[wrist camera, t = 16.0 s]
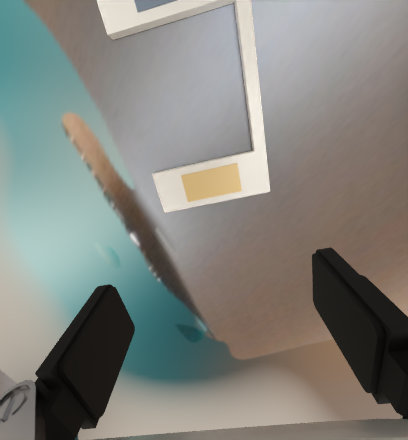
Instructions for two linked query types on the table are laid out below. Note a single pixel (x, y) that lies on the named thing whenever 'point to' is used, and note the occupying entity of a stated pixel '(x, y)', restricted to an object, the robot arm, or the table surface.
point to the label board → (256, 159)
